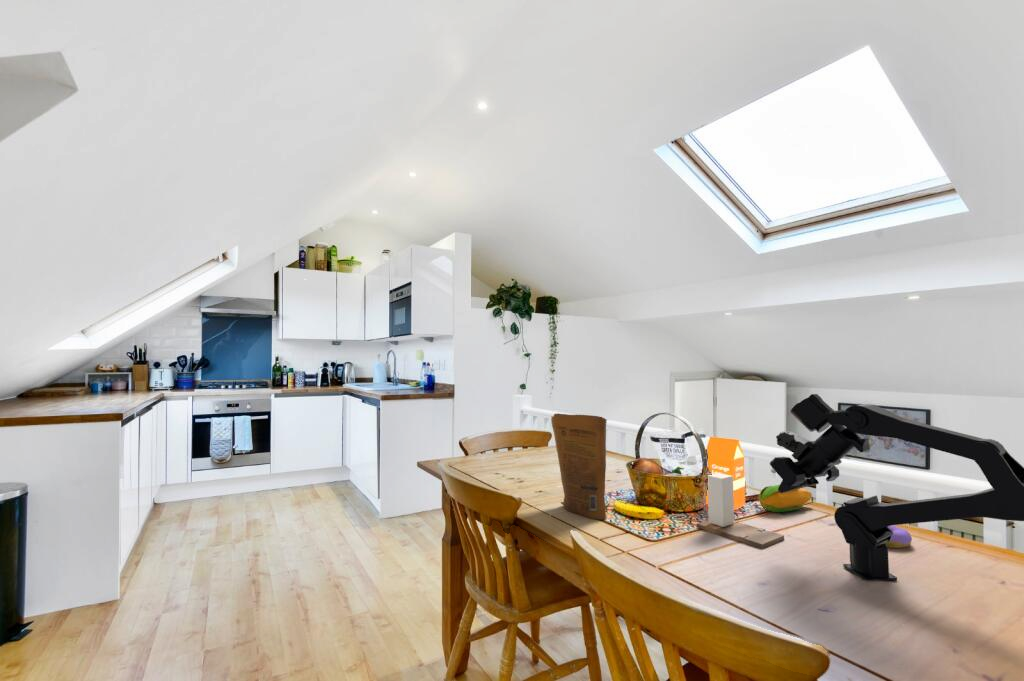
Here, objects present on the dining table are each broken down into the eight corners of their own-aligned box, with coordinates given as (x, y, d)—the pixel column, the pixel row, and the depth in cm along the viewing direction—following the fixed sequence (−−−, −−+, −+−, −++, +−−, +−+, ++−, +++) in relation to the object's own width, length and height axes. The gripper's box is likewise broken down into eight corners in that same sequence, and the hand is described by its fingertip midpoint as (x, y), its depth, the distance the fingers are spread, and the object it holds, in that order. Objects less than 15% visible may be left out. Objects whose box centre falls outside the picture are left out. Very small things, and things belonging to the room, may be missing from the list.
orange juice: (734, 511, 136) (733, 441, 137) (704, 504, 142) (703, 437, 143) (745, 506, 141) (744, 438, 142) (716, 499, 148) (715, 435, 149)
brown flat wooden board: (784, 539, 114) (784, 534, 114) (762, 548, 109) (762, 543, 109) (719, 520, 128) (719, 515, 128) (696, 527, 123) (696, 522, 123)
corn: (750, 483, 138) (798, 476, 145) (749, 509, 138) (797, 501, 146) (773, 491, 131) (822, 484, 139) (772, 518, 131) (821, 510, 139)
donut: (877, 531, 119) (880, 513, 119) (918, 552, 111) (923, 533, 110) (849, 536, 116) (853, 517, 115) (890, 558, 107) (894, 539, 107)
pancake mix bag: (599, 524, 125) (598, 417, 126) (549, 507, 140) (549, 411, 141) (615, 519, 129) (614, 415, 130) (565, 503, 144) (565, 410, 145)
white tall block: (734, 523, 122) (733, 475, 123) (723, 526, 119) (722, 478, 120) (719, 518, 125) (718, 473, 126) (708, 522, 123) (707, 475, 123)
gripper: (822, 419, 113) (778, 460, 121) (777, 420, 103) (732, 464, 111) (862, 458, 105) (811, 499, 113) (817, 462, 96) (765, 506, 104)
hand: (780, 491), depth 111 cm, fingers closed
